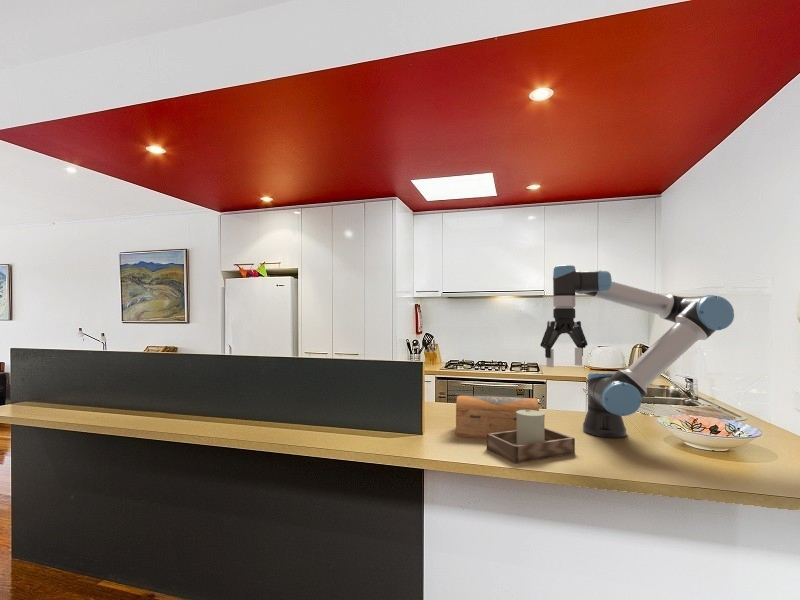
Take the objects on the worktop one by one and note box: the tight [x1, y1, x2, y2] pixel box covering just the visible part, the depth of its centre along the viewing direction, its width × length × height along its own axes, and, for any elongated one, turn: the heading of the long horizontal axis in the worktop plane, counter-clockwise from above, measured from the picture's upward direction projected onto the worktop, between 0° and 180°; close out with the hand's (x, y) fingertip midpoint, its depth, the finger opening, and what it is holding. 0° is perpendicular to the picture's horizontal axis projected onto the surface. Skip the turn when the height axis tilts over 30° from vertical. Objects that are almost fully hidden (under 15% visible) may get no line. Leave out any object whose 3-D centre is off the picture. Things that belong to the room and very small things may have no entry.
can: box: [516, 410, 546, 445], centre depth 142 cm, size 9×9×12 cm
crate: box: [486, 427, 576, 464], centre depth 142 cm, size 24×15×5 cm, turn 113°
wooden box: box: [455, 395, 540, 439], centre depth 163 cm, size 30×16×14 cm, turn 79°
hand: (564, 366), depth 155 cm, fingers open, 13 cm apart
